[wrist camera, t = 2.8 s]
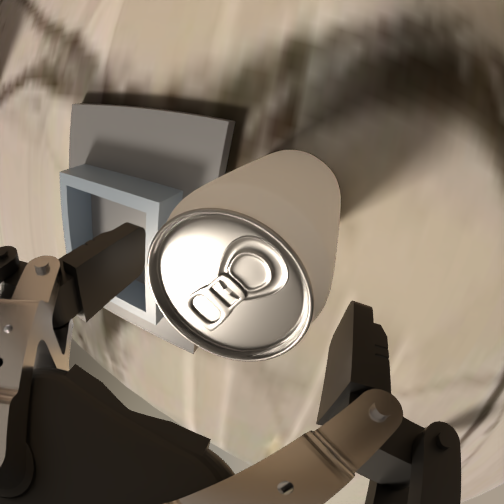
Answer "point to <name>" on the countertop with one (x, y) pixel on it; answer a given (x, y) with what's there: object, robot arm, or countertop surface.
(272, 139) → the countertop surface
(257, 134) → the countertop surface
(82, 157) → the housing
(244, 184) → the can
